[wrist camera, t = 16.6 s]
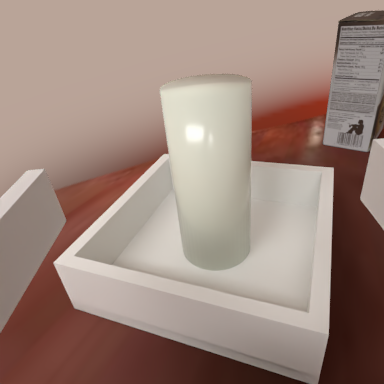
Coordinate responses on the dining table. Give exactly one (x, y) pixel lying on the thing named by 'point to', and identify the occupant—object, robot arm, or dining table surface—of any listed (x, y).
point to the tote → (216, 280)
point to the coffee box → (357, 83)
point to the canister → (211, 165)
